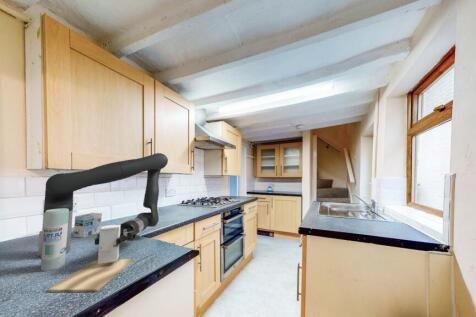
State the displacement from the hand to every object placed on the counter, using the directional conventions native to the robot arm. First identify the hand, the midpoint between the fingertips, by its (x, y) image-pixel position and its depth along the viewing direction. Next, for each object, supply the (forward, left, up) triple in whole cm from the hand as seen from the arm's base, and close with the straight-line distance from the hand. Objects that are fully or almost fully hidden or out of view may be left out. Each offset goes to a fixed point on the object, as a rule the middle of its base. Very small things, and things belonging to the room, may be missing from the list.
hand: (106, 242), depth 70 cm
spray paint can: (-19, +1, -9) cm, 21 cm away
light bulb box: (-35, +39, -9) cm, 53 cm away
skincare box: (0, +2, -7) cm, 8 cm away
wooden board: (0, -4, -9) cm, 10 cm away
